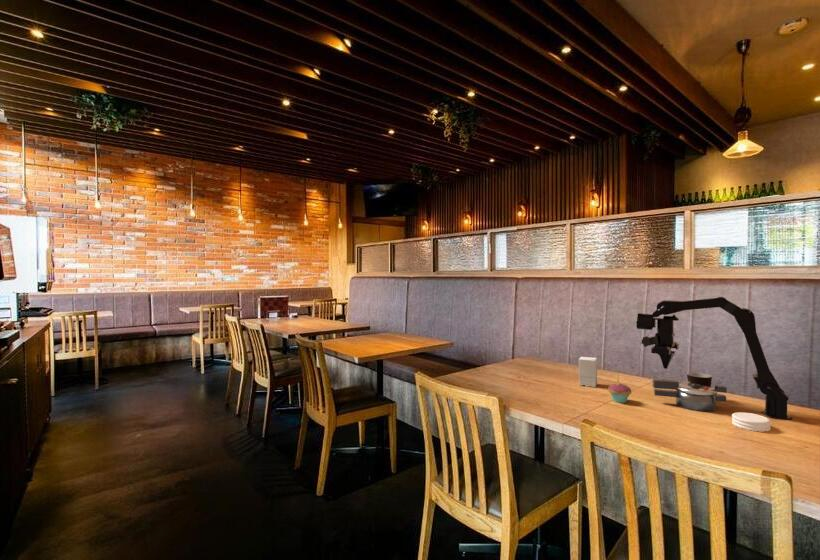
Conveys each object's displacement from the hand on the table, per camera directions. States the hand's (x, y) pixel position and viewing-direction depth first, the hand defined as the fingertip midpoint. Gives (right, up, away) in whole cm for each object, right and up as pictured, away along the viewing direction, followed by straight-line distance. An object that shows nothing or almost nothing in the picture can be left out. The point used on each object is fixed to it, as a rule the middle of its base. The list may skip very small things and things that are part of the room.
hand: (665, 368), depth 167 cm
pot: (+4, -13, -8) cm, 16 cm away
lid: (+4, -7, -8) cm, 11 cm away
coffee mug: (+15, -13, +2) cm, 20 cm away
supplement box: (-22, -13, +24) cm, 35 cm away
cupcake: (-20, -13, -1) cm, 24 cm away
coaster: (+10, -14, -30) cm, 34 cm away
